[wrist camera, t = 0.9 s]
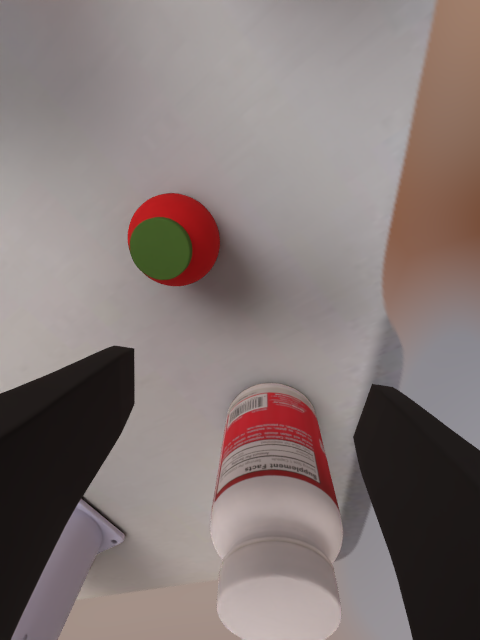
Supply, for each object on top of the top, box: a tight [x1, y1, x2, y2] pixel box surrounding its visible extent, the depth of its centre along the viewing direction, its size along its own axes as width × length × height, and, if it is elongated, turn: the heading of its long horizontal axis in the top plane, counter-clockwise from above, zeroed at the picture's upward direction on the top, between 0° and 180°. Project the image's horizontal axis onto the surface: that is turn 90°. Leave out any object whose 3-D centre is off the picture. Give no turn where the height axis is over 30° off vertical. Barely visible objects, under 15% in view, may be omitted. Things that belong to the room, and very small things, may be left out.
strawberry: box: [128, 193, 220, 286], centre depth 15 cm, size 4×4×5 cm
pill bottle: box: [210, 383, 343, 640], centre depth 17 cm, size 6×6×11 cm
